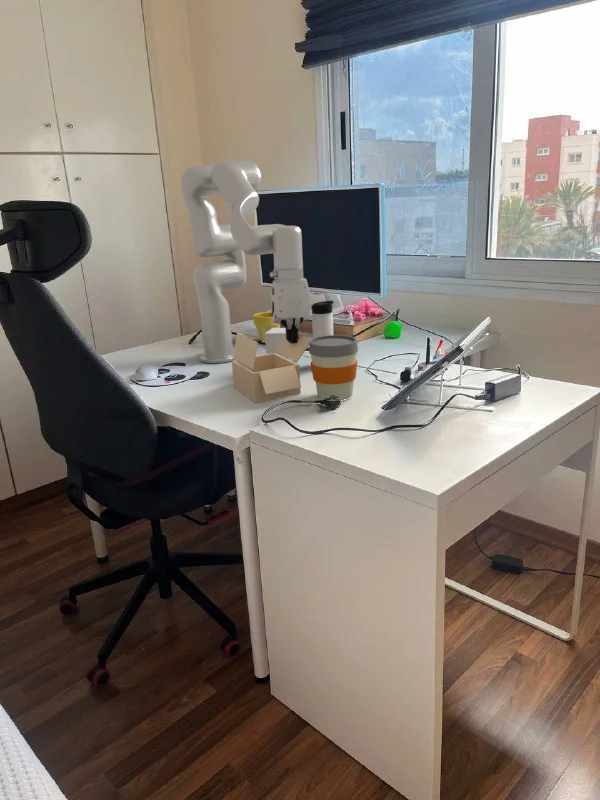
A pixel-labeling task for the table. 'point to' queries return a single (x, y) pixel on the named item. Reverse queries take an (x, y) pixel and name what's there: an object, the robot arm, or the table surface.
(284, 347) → the flap
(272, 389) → the carton
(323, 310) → the travel mug
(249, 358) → the flap
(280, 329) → the supplement box
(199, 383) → the table surface
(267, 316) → the plant pot
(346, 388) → the reusable coffee cup
